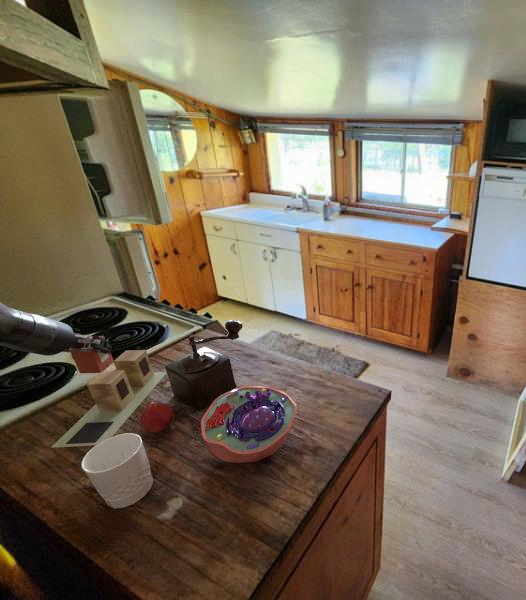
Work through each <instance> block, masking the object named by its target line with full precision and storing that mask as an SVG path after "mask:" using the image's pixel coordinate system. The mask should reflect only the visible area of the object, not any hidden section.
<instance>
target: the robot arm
mask: <svg viewBox="0 0 526 600" xmlns="http://www.w3.org/2000/svg"><path fill="white" fill-rule="evenodd" d="M92 336H93V338H92V337H87V335H82V334H80V333H76V332H74V330H73V329H72V327H71V326H70V325H69V324H67V323H65V322H62V321H58V320H55V319H52V318H49V317H46V316H42V315H39V314H36V313H30V312H25V311H22V310H19V309H16V308H12V307H9V306H7V305H5V303H3V302H1V301H0V346H1V347H4V348H8V349H10V350H14V351H18V352H19V351H20V352H25V353H30V354H35V355H41V356H46V357H47V356H48V357H49V356H50V357H51V356H55V355H59V354H61V353H71V352H70V351H75V350H76V351H82V352H88V351H96V352H101V353H105V354H109V353H111V352H112V348H113V346H112V345H111V344H109V343H110V341H109V340H108V339H106V338H105V339H104V338H102V337H99V336H100V335H92ZM84 345H85V347H84ZM83 347H84V349H83Z"/></svg>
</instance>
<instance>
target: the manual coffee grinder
mask: <svg viewBox="0 0 526 600" xmlns="http://www.w3.org/2000/svg"><path fill="white" fill-rule="evenodd" d="M224 328H225V330H226V331H227V335H216V336H210V337H206V338H203V339H199V340H195V338H196V337H195V336H194V335H189V336H188V337H187V339H188V345H189V346H190V347H191V350H192V352H191V353H189V354H187V355H185V356H183V357H180V358H179V359H176V360H175V361H172V362H170V363H168V364H166V365H165V367H164V368H165V372H167V373H166V375H167V377H168V380H169V384H170V386H171V390H172V393H173V396H174V397H175V398H176V399H178V400H179V401H181V402H183V403H184V404H186V405H188V407H191V408H193V409H195V410H196V411H202V410H204V409H206V408H207V407H210V406H211V404H212V403H213V402H214V401H215V400H216V399H217V398H218V397H219V396H221V395H223V394H225V393H227V392H230V391H232V390H235V389H236V388H237V384H236V381H235V376H234V372H233V367H232V363H231V359H230V357H228V356H226V355H224V354H222V353H220V352H219V351H216V350H214V349H212V348H209V347H206V346H203V347H202V348H199V349H198V348H197V345H201V344H204V343H208V342H212V341H216V340H231V341H234V340H237V339H239V338H240V334H239V333H240V331H241V330H242V329H243V323H242V322H241V321H239V320H237V319H230V320H228V321H226V322H225V324H224Z"/></svg>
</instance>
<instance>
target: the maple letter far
mask: <svg viewBox="0 0 526 600" xmlns="http://www.w3.org/2000/svg"><path fill="white" fill-rule="evenodd" d="M113 360H114V361H113V365H114V367H115V369H116V371H123V370H124V371H125V373H126V376H127V378H128V381H129V383H130V386H131V387H144V386H145V385H146V384H147V383H148V381H149V380H150V379H151V378H152V377H153V376H154V372H155V371H154V369H153V366H152V363H151V360H150V358H149V355H148V352H147V350H146V349H134V350H131V349H129V350H124V352H123V353H121V354H120V355H119V356H118V357H117V358H116V359H113Z"/></svg>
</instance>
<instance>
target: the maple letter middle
mask: <svg viewBox="0 0 526 600" xmlns="http://www.w3.org/2000/svg"><path fill="white" fill-rule="evenodd" d="M86 387H87V388H88V390H89V391H88V392H89V393H90V394H91V397H92V399H93V401H94V403H95V404H96V406H97V408H98V410H99V412H109V411H122V410H123V409H124V408H125V407H126V406H127V405H128V404H129V403H130V401H131V400H132V399H133V398H134V397H135V396H134V394H133V391H132V388H131V386H130V383H129V381H128V378H127V376H126V373H125V371H124V370H123V371H117V370H104V371H102V372H101V373H97V375H96V376H94V377H93V378H92V379H91V380H90V381H89V382H88V383H87V384H86Z"/></svg>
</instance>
